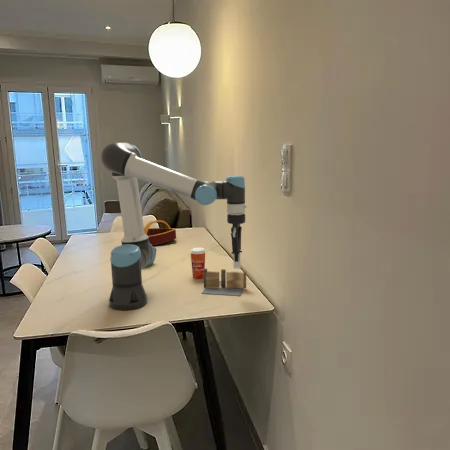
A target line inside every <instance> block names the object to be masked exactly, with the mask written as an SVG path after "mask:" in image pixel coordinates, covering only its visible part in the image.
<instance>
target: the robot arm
mask: <svg viewBox="0 0 450 450" xmlns="http://www.w3.org/2000/svg"><path fill="white" fill-rule="evenodd" d="M100 161H101V163H102V165H103V167H104V169H106V170H107V171H109V172H111V177H112V178H113V179H114V180H115V181H116V185H117V186H116V187H117V192H118V200H119V206H120V214H121V221H122V227H123V228H122V229H123V235H124V236H123V237H122V239H121V245H118V246H115V247H114V248H113V249H112V250H111V251H110V265H111V266H110V267H111V278H112V279H111V280H112V283H111V285H112V288H111V292H110V294H109V299H108V303H109V305H108V306H109V307H110V308H111V309H112V310H118V311H131V310H136V309H139V308H142V307H144V306H146V304H147V303H148V296H147V292H146V291H145V290H146V289H145V288H144V285H143V279H142V277H143V276H142V270H143V269H144V268H145V267H148V266H147V265H148V264H149V263H150V261H151V259H152V257H153V253H154V251H153V247H154V246H153V245H151V244H150V243H149V237H148V236H147V235H146V234H145V233H144V228H145V227H144V220H143V212H142V211H143V210H142V202H141V196H140V189H139V188H140V187H139V182H138V181H139V180H141V181H144V182H147V183H149V184H152V185H155V186H157V187H160V188H163V189H164V190H169V191H171V192H173V193H175V194H176V193H177V194H179V195H182V196H184V197H187V198H189V199H192V200H194V201H196V202H198V203H199V205H203V206H209V205H212V204H213V203H215V201H216V200H226V213H227V216H226V221H227V223H228V224H229V225H230V224H231V225H232V227H231V228H230V232H231V233H230V235H231V248H232V249H231V254H232V255H233V260H232V261H233V269H237V270H240V269H241V253H243V250H241V249H242V230H243V229H242V228H243V227H242V226H241V225H242V224H245V223H246V214H245V213H246V208H248V207H247V205H246V183H245V179H246V178H245V177H244V176H242V175H229V176H226V179H225V180H221V181H219V180H218V181H217V180H216V181H215V180H212V181H211V180H209V181H208V180H205V181H201V180H198V179H196V178H193V177H192V176H189V175H186V174H183V173H181V172H177V171H175V170H172V169H170V168H168V167H164V166H162V165H159V164H157V163H154V162H151V161H149V160H146V159H144V158H143V157H142V153H141V151H140V150H139V148H138V147H137V146H136V145H135V144H132V143H130V142H111V143H108V144H106V145H105V146H104V147H103V148H102V150H101V153H100ZM138 179H139V180H138Z"/></svg>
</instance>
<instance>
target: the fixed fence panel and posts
mask: <svg viewBox="0 0 450 450" xmlns="http://www.w3.org/2000/svg"><path fill="white" fill-rule="evenodd" d="M226 272H227V270H226V269H224V268H223V269H221V270H220V271H213V270H212V271H211V270H208V268H205V269H204V278H203V288H205V287H219V281H221V288H225V287H226ZM220 277H221V278H220Z"/></svg>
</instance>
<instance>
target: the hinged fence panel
mask: <svg viewBox="0 0 450 450" xmlns="http://www.w3.org/2000/svg"><path fill="white" fill-rule="evenodd" d="M226 287H231V288H243V289H247V270H244V271H229V270H228V271H227V270H226Z"/></svg>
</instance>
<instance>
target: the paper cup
mask: <svg viewBox="0 0 450 450" xmlns="http://www.w3.org/2000/svg"><path fill="white" fill-rule="evenodd" d="M189 253H190V261H191V273H192V278H193V279H196V280H200V279H204V269H205V267H206V266H205V264H206V253H207V251H206V249H205V248H203V247H193V248H191V249H190V252H189Z"/></svg>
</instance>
